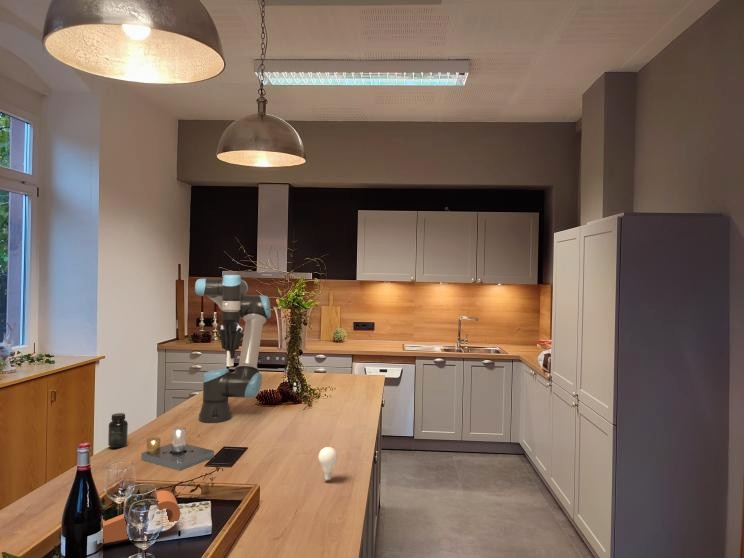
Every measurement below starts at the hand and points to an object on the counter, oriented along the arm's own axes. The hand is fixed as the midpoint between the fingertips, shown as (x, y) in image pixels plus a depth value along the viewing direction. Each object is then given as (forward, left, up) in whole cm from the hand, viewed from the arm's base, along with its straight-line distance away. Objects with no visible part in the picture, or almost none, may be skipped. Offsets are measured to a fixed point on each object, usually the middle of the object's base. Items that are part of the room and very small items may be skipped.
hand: (230, 365), depth 226 cm
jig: (+6, -32, -29) cm, 44 cm away
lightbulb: (+64, -20, -30) cm, 73 cm away
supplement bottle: (-27, -34, -30) cm, 52 cm away
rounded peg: (+6, -32, -29) cm, 44 cm away
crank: (+40, -75, -30) cm, 90 cm away
